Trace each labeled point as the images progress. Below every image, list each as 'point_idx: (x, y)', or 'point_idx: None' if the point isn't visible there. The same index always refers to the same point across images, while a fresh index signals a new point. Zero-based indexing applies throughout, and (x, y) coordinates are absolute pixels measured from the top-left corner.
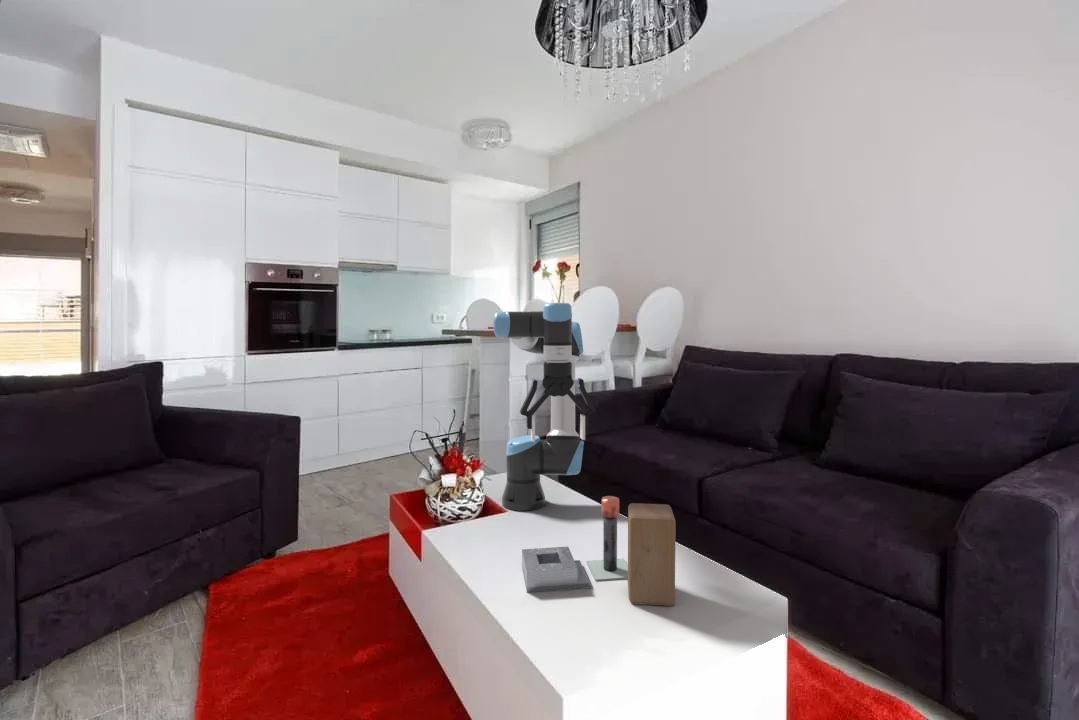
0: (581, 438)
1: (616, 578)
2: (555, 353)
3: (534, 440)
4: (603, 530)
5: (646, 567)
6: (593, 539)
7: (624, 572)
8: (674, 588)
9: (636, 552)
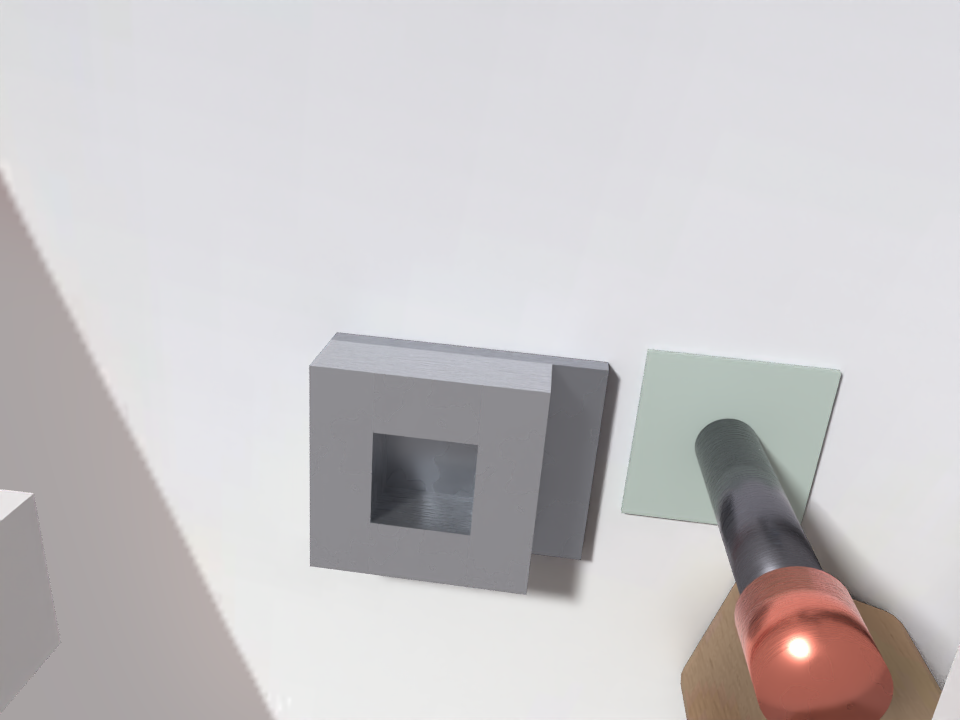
0: (945, 700)
1: (713, 523)
2: None
3: (36, 660)
4: (730, 542)
5: None
6: (806, 80)
7: None
8: None
9: None
